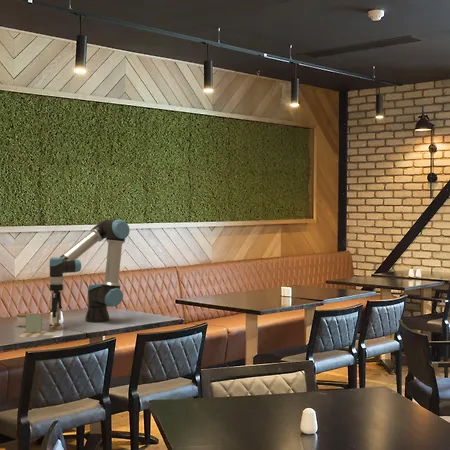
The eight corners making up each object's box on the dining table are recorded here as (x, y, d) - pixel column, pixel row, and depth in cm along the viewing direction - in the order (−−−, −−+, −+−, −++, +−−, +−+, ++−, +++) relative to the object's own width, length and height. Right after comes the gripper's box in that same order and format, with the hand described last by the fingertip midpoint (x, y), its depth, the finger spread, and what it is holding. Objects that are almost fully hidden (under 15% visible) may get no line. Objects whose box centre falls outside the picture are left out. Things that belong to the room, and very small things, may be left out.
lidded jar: (18, 325, 446) (18, 310, 445) (36, 325, 446) (36, 309, 446) (15, 328, 435) (14, 312, 435) (33, 328, 436) (33, 312, 435)
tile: (42, 332, 420) (42, 313, 419) (41, 332, 418) (41, 313, 417) (26, 332, 419) (26, 313, 419) (25, 332, 417) (25, 313, 417)
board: (46, 331, 423) (46, 331, 423) (39, 337, 405) (39, 336, 405) (25, 332, 423) (25, 331, 423) (17, 337, 405) (17, 337, 405)
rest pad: (62, 333, 419) (62, 332, 419) (59, 336, 410) (59, 335, 410) (46, 333, 419) (46, 332, 419) (42, 336, 410) (42, 335, 410)
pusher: (62, 329, 432) (62, 301, 431) (60, 331, 426) (60, 303, 425) (52, 329, 431) (52, 301, 431) (50, 331, 425) (50, 303, 425)
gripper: (53, 281, 439) (54, 318, 440) (45, 286, 416) (45, 324, 417) (66, 281, 439) (66, 318, 440) (58, 286, 416) (59, 324, 417)
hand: (56, 321), depth 428 cm, fingers open, 10 cm apart
